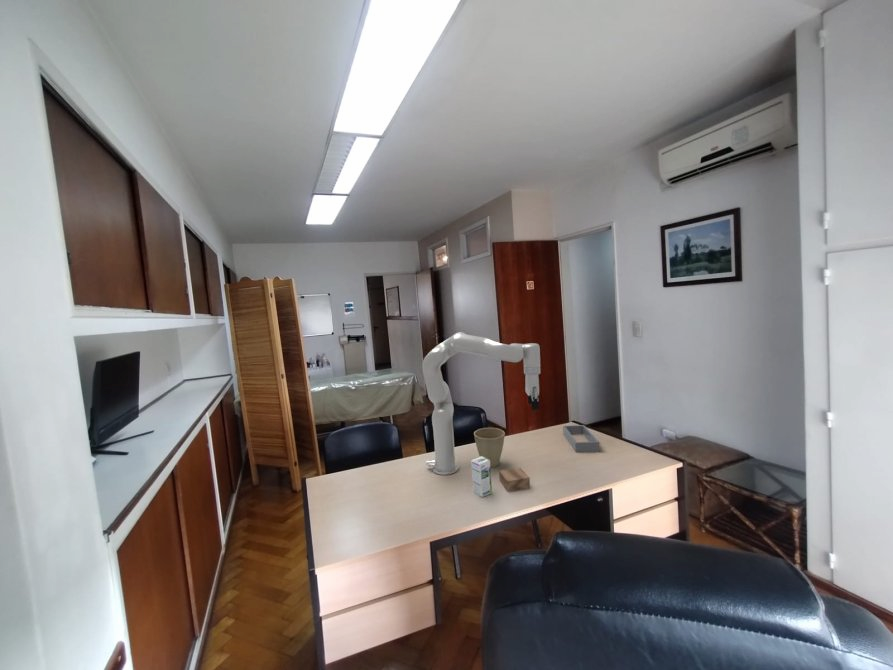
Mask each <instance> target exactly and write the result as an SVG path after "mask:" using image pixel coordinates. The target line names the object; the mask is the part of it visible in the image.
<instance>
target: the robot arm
mask: <svg viewBox="0 0 893 670" xmlns="http://www.w3.org/2000/svg"><path fill="white" fill-rule="evenodd" d="M540 347H541V346H540V345H539V343H533V342H531V343H530V342H529V343H510V344H506V343H500V342H498V341H495V340H492V339H491V338H488V337H485V336H479V335H478V336H476V335H471V334H466V333H465V332H464V331H463V332H462V331H459V332H456V333H453V334H452V335H451V336H450V337H448V338H447V339H445V340H444V341H443V342H440V343H439V344H437V345H436V346H435V347H434V348H432V349H431V350H430V351H429V352H428V353H427V355H425V356H424V358H423V361H422V366H421V367H422V373H423V378H424V384H425V387H426V393H427V395H428V397H427V398H428V399H429V401H430V402H431V403H432V404H433V408H434V409H433V411H432V414H431V422H432V423H431V425H432V431H433V440H434V441H433V442H434V444H433V445H434V459H432V460H426V465H427V466H428V467H430V468H431V467H432V471H433V473H434V474H437V475H440V476H447V475H452V474H454V473H457V472H458V471H459V469H460V468H459V467H460V465H459V464H458V463H456V454H455V437H454V426H453V424H454V422H453V416H454V410H455V409H454V404H453V403H454V402H453V399H452V395H451V390H450V387H449V385H448V384H447V383H446V382H447V381H444V378H443V375H442V374H443V373H442V371H441V367H442V365H444V364H445V363H446V362H447V361H448V360H449V359H450V358H452V357H454V356H455V355H456V354H458V353H459V352H460V353H465V354H472V355H476V356H477V355H478V356H482V357H485V358H488V359H489V358H491V359H495V360H498V361H502V362H503V361H504V362H510V363H519V362H521V361H522V360H523V374H524V375H525V377H524V378H525V379H524V380H525V384H524V385H525V388H524V389H525V393H526V394H527V403H528V405H531V410H532V411H534V410H537V411H538V410H540V402H539V396H540V379H539V375H540V374H541V354H540V353H541V349H540Z"/></svg>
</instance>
